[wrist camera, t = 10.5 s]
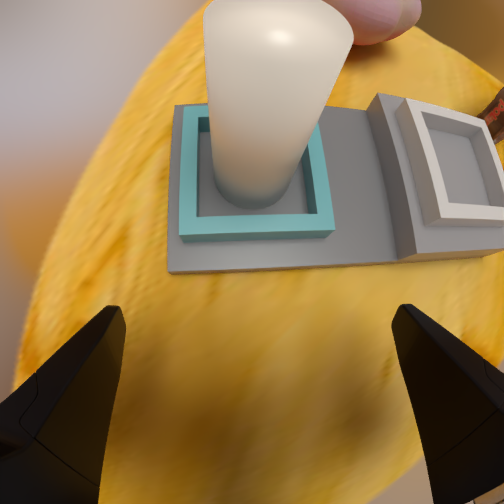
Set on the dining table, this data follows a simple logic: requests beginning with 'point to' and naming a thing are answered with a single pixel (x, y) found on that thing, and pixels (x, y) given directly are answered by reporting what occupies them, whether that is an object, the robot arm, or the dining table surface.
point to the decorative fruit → (378, 18)
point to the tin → (495, 117)
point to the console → (345, 194)
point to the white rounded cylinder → (267, 89)
